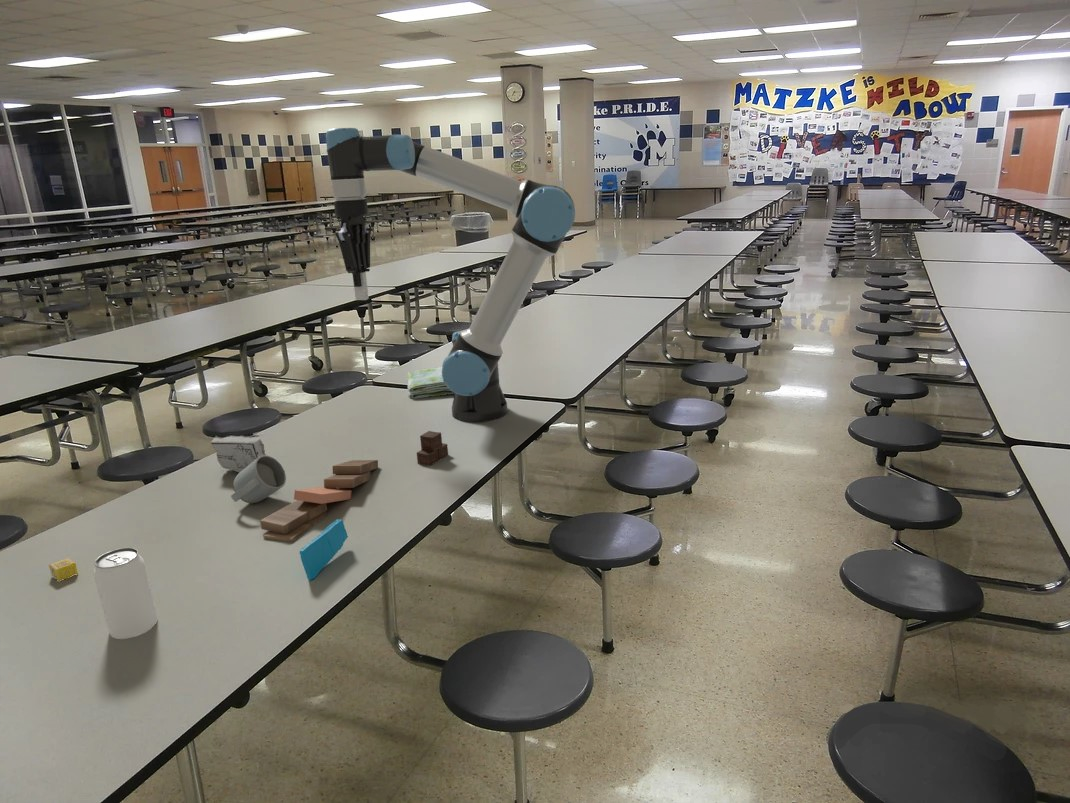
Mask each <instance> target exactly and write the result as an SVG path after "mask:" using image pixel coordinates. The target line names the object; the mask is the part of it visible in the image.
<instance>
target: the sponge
mask: <svg viewBox="0 0 1070 803" xmlns="http://www.w3.org/2000/svg"><path fill="white" fill-rule="evenodd" d="M347 532H348V531H347V530H346V528H345V523H344V520H343V519H336V520H334V521H333V522H331V523H330V524H329V525H328V526H326V528H324V530H323V531H322V532H320V534H319V535H317V536H316V537H315V538H314V539H312V540H311V541H310V542H308V543H307V544H306V545H304V547H302V548H301V549H299V555H300V560H301V563H302V566H303V569H304V572H305V575H306V578H307V579H308V581H312V580H315V578H316V577H317V576H318V575H319V573H320V572H321V571H322V570H323V569H324V567H325V566H326V565H328V564H329V562H330V561H331V560H333V558H334V556H335V555H336V554H337V553H338V552H339V551H340V550H341V549H342V547H343V546H344V543H345V541H346V540H347V539H348V537H349V536H348V533H347Z"/></svg>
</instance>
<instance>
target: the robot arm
mask: <svg viewBox="0 0 1070 803" xmlns="http://www.w3.org/2000/svg"><path fill="white" fill-rule="evenodd" d="M325 139H326V140H325V141H326V153H327V160H328V168H329V173H330V181H331V190H332V195H333V196H332V197H333V198H334V199H336V200H335V201H334V202H333V207H334V215H335V216H336V218H340V231H335V237H336V239H337V240H338V242H339V243H338V245H339V248H340V252H341V255H342V259H343V263H344V267H345V271H346V272H347V273H348V274H352V280H353V281H352V282H353V291H354V295H355V298H354V299H355V301H367V300H370V299H369V298H370V297H369V291H368V289H369V288H368V281H367V274H366V273H367V272H370V270H371V269H370V268H371V235H372V228H371V227H370V226H368V227H367V225H366V221H365V219H364V217H366V216H368V215H369V208H368V201H367V200H366V199H365V197H366V196H367V191H366V184H365V174H364V172H370V171H371V172H375V171H376V172H377V171H380V172H381V171H401V172H403V173H405V174H409V175H410V176H414V177H417V178H420V179H423V180H426V181H427V182H431V183H434V184H436V185H439V186H442V187H444V188H446V189H449V190H452V191H455V192H457V193H460V194H463V195H465V196H468V197H471V198H473V199H476V200H479V201H483V202H485V203H488V204H489V205H493V206H495V207H499V208H501V209H503V210H506V211H509V212H511V213H512V214H513V217H514V218H516V221H515V223H514V225H513V227H512V229H511V234H512V237H513V241H512V243H511V245H510V246H509V249H508V251H507V252H506V255H505V257H504V258H503V261H502V263H501V264H500V267H499V268H498V271H497V273H496V275H495V277H494V279H493V281H492V283H491V284H490V287H489V288H488V290H487V293H486V294H485V296H484V299H483V301H482V302H481V304H480V306H479V309H478V310H477V312H476V313H475V316H474V318H473V320H472V322H471V324H470V325H469V327H468V328H466V329H465V328H464V329H462V330H458V331H454V332H453V333H452V336H451V337H452V338H451V343H452V347H451V350H450V352H448V356H446V358H444V360H443V363H442V366H441V367H442V378H443V380H444V382H445V384H446V386H447V387H448V388H449V389H450V390H451V391H453V392H454V393H455V394H454V395H453V396H454V397H453V399H452V400H453V401H452V405H451V415H452V417H453V418H454V419H455V420H458V421H462V422H468V423H470V422H472V423H474V422H475V423H478V422H488V421H489V422H490V421H493V420H496V419H500V418H502V417H504V416H506V415H507V413H508V402H507V400H506V397H505V395H504V392H503V390H502V388H501V385H500V374H499V373H500V372H499V371H500V370H499V361H500V359H501V357H502V356H503V354H504V352H503V348H502V346H501V345H502V343H503V341H504V339H505V337H506V336H507V333H508V331H509V329H510V328H511V325H512V324H513V322H514V320H515V318H516V317H517V314H518V312H519V310H520V309H521V306H522V305H523V303H524V301H525V299H526V296H527V295H528V294H529V292H530V289H531V288H532V285H533V283H534V282H535V280H536V278H537V277H538V274H539V272H540V270H541V269H542V267H543V264H544V263H545V261H546V259H548V258H549V257H552V256H556V254H557V253H558V251H559V248H560V247H561V245H562V243H563V241H564V239H565V237H566V235H567V234H568V233H569V232H570V231H571V229H572V228H573V227H572V226H573V225H574V223H575V218H576V209H575V203H574V199H573V198H572V196H571V195H570V194H569V192H567V191H566V190H565V188H562V187H560V186H557V185H550V184H544V183H541V182H537V181H533V180H531V179H525V180H522V181H521V180H519V179H516V178H514V177H510V176H507V175H505V174H502V173H500V172H497V171H494V170H491V169H488V168H485V167H483V166H481V165H478V164H475V163H472V162H470V161H467V160H464V159H461V158H459V157H456V156H453V155H450V154H448V153H444V152H442V151H440V150H437V149H434V148H431V147H429V146H427V145H426V146H425V145H423V144H421V143H417V142H416V141H413V139H412V137H411V136H410V135H407V134H396V133H395V134H390V135H388V134H387V135H375V136H372V135H371V136H361V134H360V131H359V130H358V128H357V127H356V128H355V127H336V128H335V127H334V128H329V129H328V130H327V131H326V132H325Z"/></svg>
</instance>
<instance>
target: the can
mask: <svg viewBox="0 0 1070 803" xmlns="http://www.w3.org/2000/svg"><path fill="white" fill-rule="evenodd" d="M94 566H95V567H94V570H93V576H94V581H95V585H96V588H97V592H98V596H99V600H100V603H101V604H100V605H101V608H102V611H103V615H104V618H105V622H106V626H107V629H108V633H109V636H110V637H111V638H114V639H116V640H117V639H118V640H125V639H132V638H135V637H139V636H141V635H144V634H145V633H147V632H148V631H150V630H152V629H153V628H154V627H155V626H156V625H155V624H157V623H158V620H159V618H158V613H157V608H156V605H155V600H154V596H153V593H152V588H151V585H150V581H149V575H148V572H147V567H146V564H145V560H144V558H143V557H142V556H141V555H140V554H139V550H138V549H136V548H134V547H121V548H117V549H113V550H110V551H107V552H105V553H103V554H102V555H100V556H99V557H97V558H96V559H95V561H94ZM154 625H155V626H154ZM153 626H154V627H153ZM152 627H153V628H152Z"/></svg>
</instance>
